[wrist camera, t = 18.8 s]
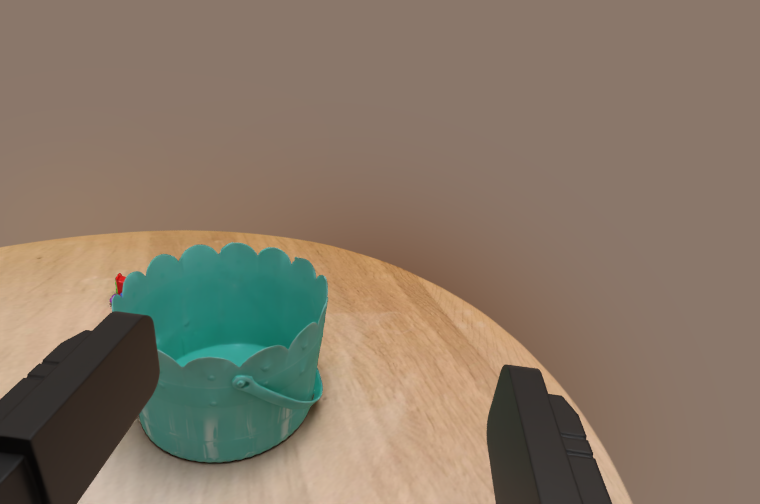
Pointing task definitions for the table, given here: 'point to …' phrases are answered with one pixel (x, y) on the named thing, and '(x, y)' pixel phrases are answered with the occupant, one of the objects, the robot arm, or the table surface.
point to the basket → (229, 348)
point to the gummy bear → (119, 285)
